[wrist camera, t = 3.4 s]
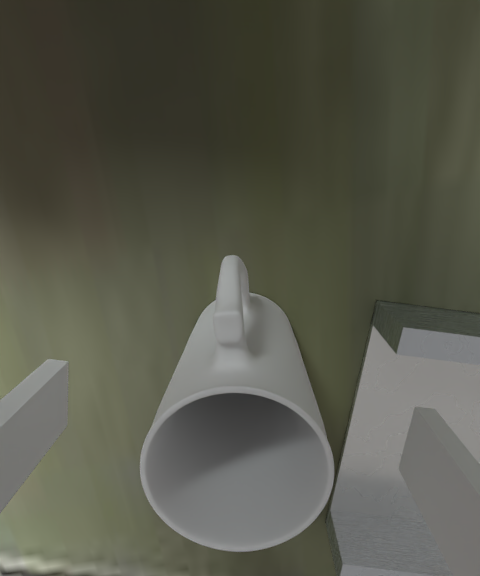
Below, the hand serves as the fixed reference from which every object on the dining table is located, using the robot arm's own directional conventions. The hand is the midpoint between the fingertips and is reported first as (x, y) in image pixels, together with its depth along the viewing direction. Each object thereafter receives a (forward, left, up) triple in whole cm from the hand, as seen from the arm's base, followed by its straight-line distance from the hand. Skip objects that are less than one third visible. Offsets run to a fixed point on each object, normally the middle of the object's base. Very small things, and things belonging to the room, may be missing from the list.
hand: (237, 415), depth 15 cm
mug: (0, 0, -11) cm, 11 cm away
